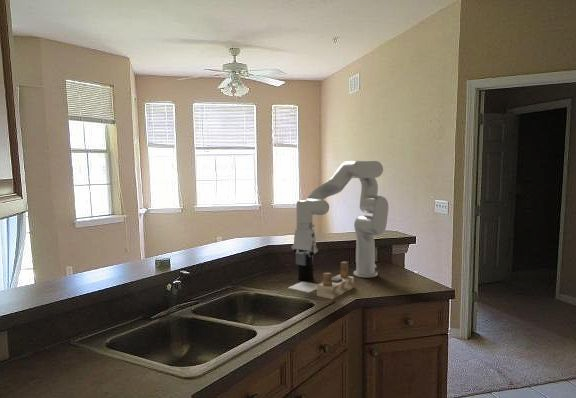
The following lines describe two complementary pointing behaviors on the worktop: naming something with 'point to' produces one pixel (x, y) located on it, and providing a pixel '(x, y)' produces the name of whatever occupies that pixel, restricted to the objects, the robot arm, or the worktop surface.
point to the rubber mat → (304, 287)
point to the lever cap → (302, 258)
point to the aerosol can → (305, 272)
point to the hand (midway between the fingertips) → (304, 263)
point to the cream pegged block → (335, 283)
